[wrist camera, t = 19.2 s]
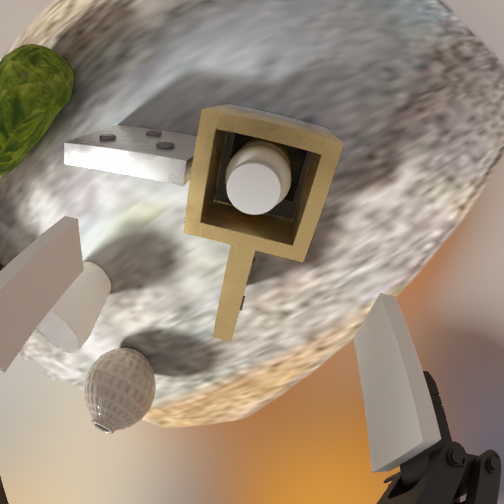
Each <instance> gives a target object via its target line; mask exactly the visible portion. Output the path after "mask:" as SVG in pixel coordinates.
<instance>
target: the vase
mask: <svg viewBox="0 0 504 504" xmlns="http://www.w3.org/2000/svg"><path fill="white" fill-rule="evenodd" d="M155 388H156V385H155V377H154V373H153V370H152V367H151V365H150V363H149V361H148V359H147V358H146V357H145V356H144V355H143V354H142V353H140V352H139V351H137V350H135V349H132V348H127V347H125V348H118V349H114V350H111V351H109V352H107V353H105V354H103V355H102V356H100V357H99V358H98V359H97V360H96V361H95V362H94V364H93V365H92V366H91V368H90V370H89V372H88V374H87V377H86V381H85V390H84V393H85V400H86V405H87V408H88V410H89V413H90V415H91V417H92V424H93V425H94V426H95V427H96V428H98V429H99V430H101V431H103V432H106V433H109V434H112V433H114V432H115V431H116V430H120V429H124V428H127V427H130V426H132V425H134V424H136V423H137V422H138V421H140V420H141V419H142V418H143V417H144V416H145V415H146V413H147V412H148V411H149V409H150V407H151V405H152V402H153V399H154V396H155Z"/></svg>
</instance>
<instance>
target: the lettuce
mask: <svg viewBox="0 0 504 504" xmlns="http://www.w3.org/2000/svg"><path fill="white" fill-rule="evenodd" d="M74 78H75V77H74V74H73V71H72V68H71V67H70V66H69V64H68V63H67V62H66V60H65V59H64V58H62V57H61V56H60V55H59V54H58V53H56V52H55V51H53V50H51V49H49V48H47V47H44V46H40V45H35V44H30V45H22V46H20V47H19V48H17V49H15V50H14V51H12V52H11V53H9V54H8V55H6V56H5V57H3V59H2V60H1V61H0V178H1V177H2V176H3V175H5V174H7V173H9V172H10V171H11V170H13V169H14V168H15V167H16V166H17V165H18V164H20V163H21V162H22V161H23V160H24V158H25V157H26V156H27V155H28V153H29V152H30V151H31V149H32V148H33V147H34V146H35V145H36V144H37V143H38V142H39V141H40V140H41V139H42V138H43V136H44V135H45V133H46V132H47V130H48V129H49V127H50V125H51V124H52V122H53V121H54V119H55V117H56V116H57V114H58V113H59V112H60V111H61V110H62V108H63V107H64V106H65V105H66V104H67V103H68V102H69V101H70V99H71V94H72V89H73V84H74Z"/></svg>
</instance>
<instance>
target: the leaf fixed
mask: <svg viewBox="0 0 504 504" xmlns="http://www.w3.org/2000/svg"><path fill="white" fill-rule="evenodd" d="M220 107H226V108H231V109H237V110H242V111H246V112H251V113H256V114H260V115H265V116H269V117H273V118H277V119H281V120H285V121H289V122H293V123H297V124H300V125H304V126H308V127H311V128H315V129H318V130H321V131H325V132H328V133H331V134H333V133H332V132H331V131H330V130H329V129H328V128H326V127H322V126H319V125H316V124H312V123H309V122H305V121H302V120H298V119H294V118H291V117H287V116H283V115H279V114H275V113H270V112H266V111H262V110H257V109H253V108H248V107H243V106H238V105H233V104H225V105H220ZM234 136H235V133H234V132H229V131H227V132H226V137H225V142H224V147H223V153H222V158H221V163H220V168H219V174H218V179H217V185H216V190H215V196H214V202H217V203H221V204H225V205H229V206H233V207H235V206H234V205H233V204H232V203H231V201H230V200H229V197H228V195H227V186H226V185H225V174H226V169H227V166H228V164H229V160H230V155H231V150H232V146H233V141H234ZM196 139H197V136H194V135H188V134H182V133H176V132H169V131H163V130H156V129H148V128H141V127H132V126H123V125H116V126H112V127H109V128H106V129H102V130H99V131H96V132H93V133H90V134H87V135H84V136H82V137H79V138H76V139H73V140H71V141H68V142H65V143H64V164H68V165H74V166H81V167H87V168H93V169H98V170H104V171H110V172H115V173H121V174H126V175H132V176H137V177H142V178H147V179H152V180H157V181H162V182H167V183H172V184H176V185H181V186H183V185H184V184H186V183H187V182H188V181H189V180H190V178H191V171H192V164H193V157H194V151H195V145H196ZM313 153H314V152H310V151H307V154H306V158H305V161H304V165H303V168H302V172H301V175H300V178H299V182H298V185H297V189H296V192H295V195H294V199H293V202H291V201H287V200H282V201H281V202H280V203H278V204H277V205H275V206H274V207H273V208H272V209H271V210H269V211H268V212H266V213H263V214H266V215H270V216H273V217H277V218H281V219H285V220H289V221H293V219H294V216H295V213H296V209H297V206H298V203H299V200H300V196H301V193H302V190H303V187H304V183H305V180H306V177H307V173H308V170H309V167H310V163H311V160H312V156H313Z"/></svg>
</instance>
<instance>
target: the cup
mask: <svg viewBox="0 0 504 504" xmlns="http://www.w3.org/2000/svg"><path fill="white" fill-rule="evenodd" d="M83 268H84V271H83V272H82V273H81V274H80V275H79V276H78V277H77V279H76V280H75V281H74V282H73V283H72V284H71V285H70V287H69V288H68V289H67V290H66V291H65V293H64V294H63V295H62V296H61V297H60V299H59V300H58V301H57V302H56V303H55V305H54V306H53V307H52V308H51V310H50V311H49V312H48V313H47V315H46V316H45V317H44V319H43V320H42V321H41V322H40V324H39V325H38V326H37V329H38V330H39V331H40V333H41V334H42V335H43V336H44V337H45V338H46V339H47V340H48V341H49V342H50V343H52V344H53V345H54V346H56V347H57V348H59V349H61V350H63V351H65V352H68V353H76V352H78V351H79V349H80V348H81V346H82V345H83V344H84V342H85V341H86V340H87V339H88V337H89V336H90V334H91V332H92V329H93V327H94V325H95V323H96V321H97V318H98V316H99V314H100V312H101V310H102V308H103V306H104V304H105V302H106V299H107V297H108V295H109V293H110V291H111V282H110V279H109V277H108V276H107V274H106V273H105V272H104V270H103V269H102V268H100V267H99V266H98V265H96V264H94V263H92V262H83Z"/></svg>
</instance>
